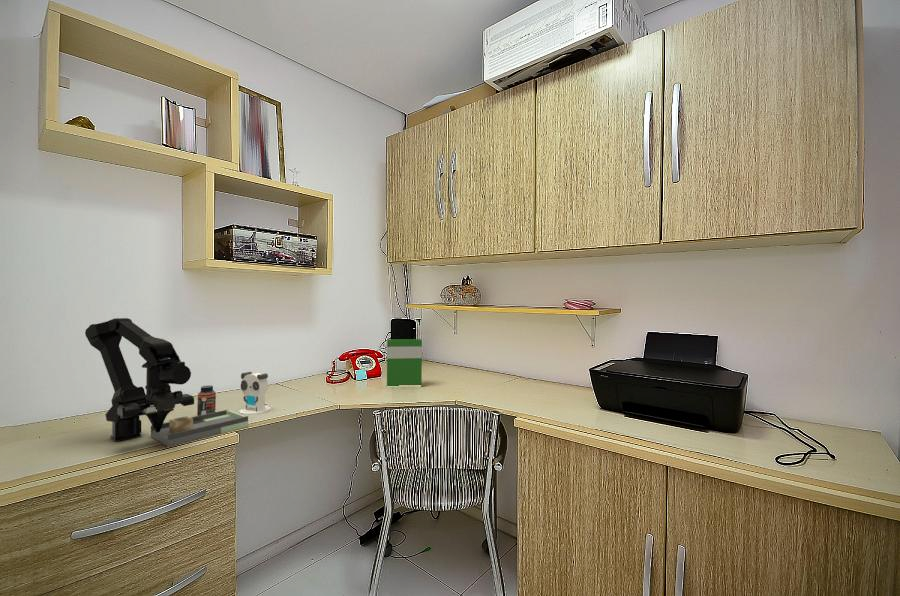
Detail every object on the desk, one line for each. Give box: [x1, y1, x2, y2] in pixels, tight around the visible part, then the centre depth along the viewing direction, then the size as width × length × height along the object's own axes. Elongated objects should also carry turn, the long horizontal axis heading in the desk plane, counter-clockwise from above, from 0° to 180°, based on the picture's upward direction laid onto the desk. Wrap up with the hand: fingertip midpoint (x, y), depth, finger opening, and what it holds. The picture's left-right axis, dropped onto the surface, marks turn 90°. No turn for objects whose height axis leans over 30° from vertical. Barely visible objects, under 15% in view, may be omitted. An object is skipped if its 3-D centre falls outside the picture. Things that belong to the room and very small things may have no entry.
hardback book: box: [386, 338, 423, 387], centre depth 206 cm, size 18×7×24 cm, turn 98°
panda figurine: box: [238, 371, 271, 415], centre depth 160 cm, size 12×11×15 cm
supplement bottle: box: [196, 385, 217, 416], centre depth 152 cm, size 6×6×11 cm
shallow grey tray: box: [150, 409, 249, 448], centre depth 134 cm, size 24×15×4 cm, turn 144°
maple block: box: [168, 416, 193, 433], centre depth 129 cm, size 5×5×4 cm
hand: (157, 432), depth 124 cm, fingers closed
